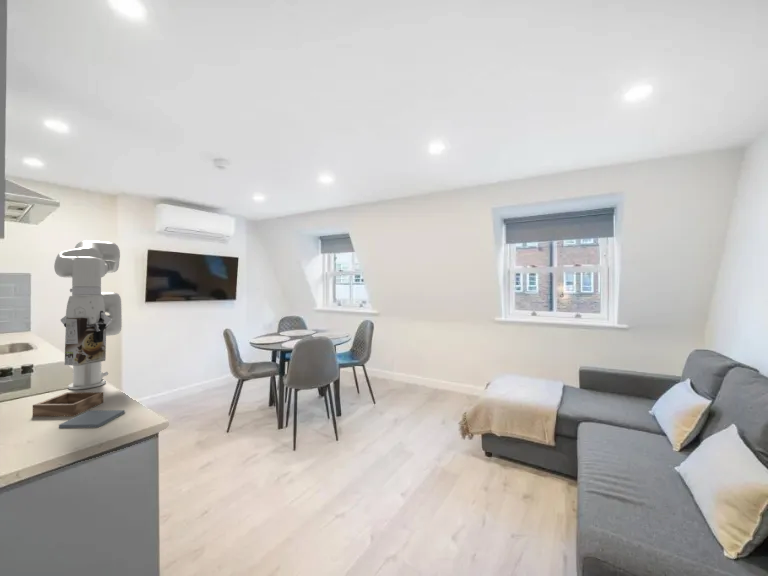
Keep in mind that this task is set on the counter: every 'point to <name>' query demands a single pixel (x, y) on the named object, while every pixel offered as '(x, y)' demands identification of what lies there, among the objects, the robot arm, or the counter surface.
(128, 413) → the counter surface
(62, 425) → the slate mat
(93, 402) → the walnut dock
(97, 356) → the dessert mix box
